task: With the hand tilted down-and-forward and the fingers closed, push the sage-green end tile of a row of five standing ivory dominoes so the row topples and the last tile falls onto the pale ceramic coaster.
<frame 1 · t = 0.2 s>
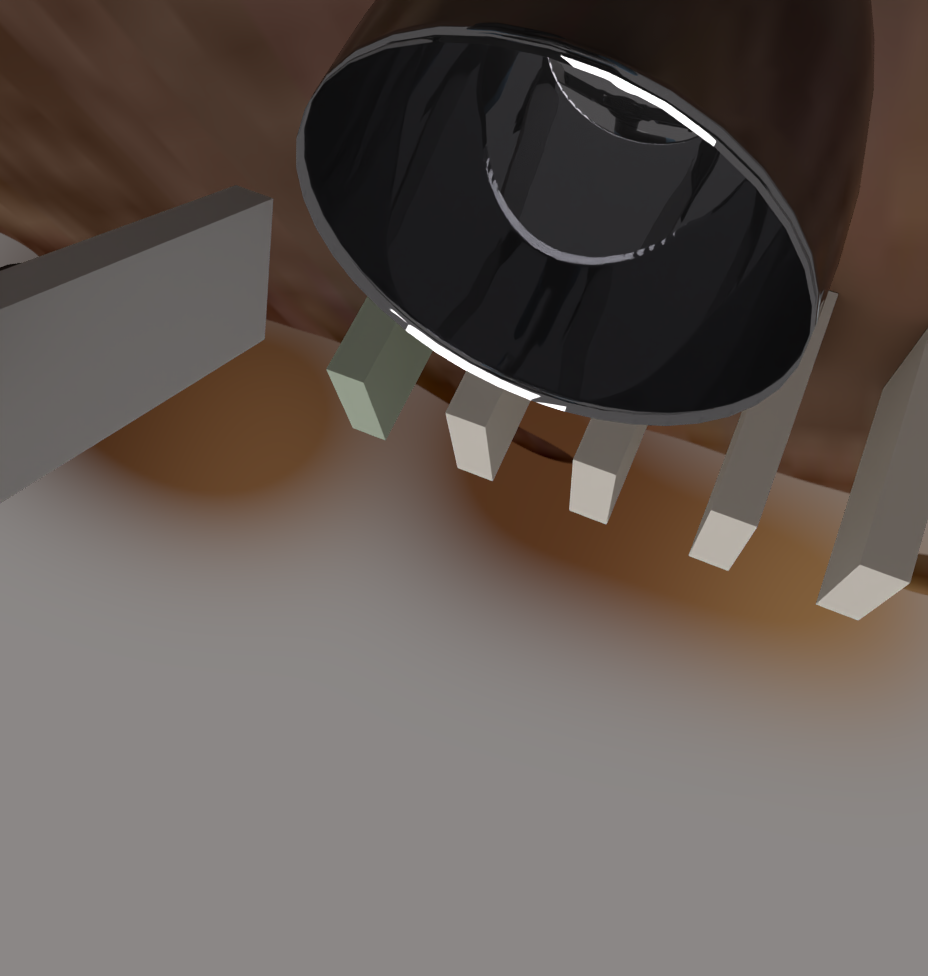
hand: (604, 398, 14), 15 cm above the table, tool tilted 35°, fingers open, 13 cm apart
domino 5: (927, 364, 34), on the table
domino 1: (459, 219, 38), on the table
domino 2: (565, 252, 37), on the table
domino 3: (678, 287, 36), on the table
domino 4: (798, 324, 35), on the table
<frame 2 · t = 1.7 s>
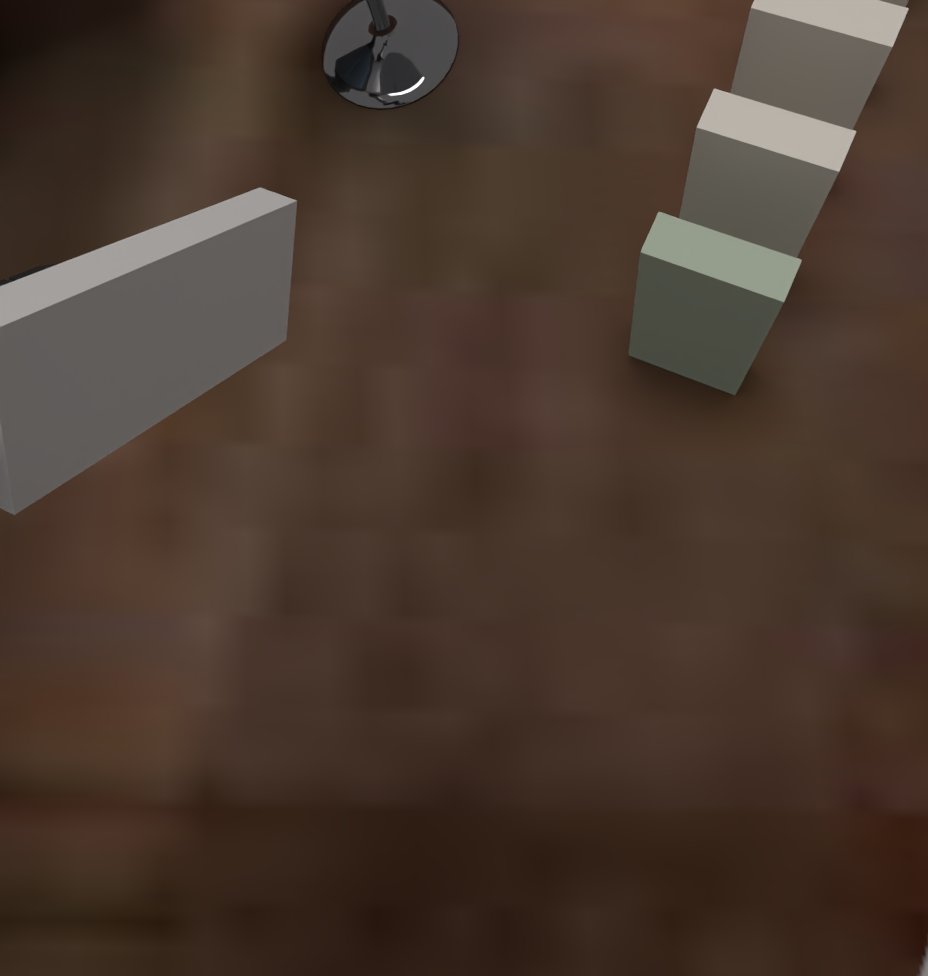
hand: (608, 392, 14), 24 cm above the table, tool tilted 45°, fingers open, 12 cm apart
wine glass: (390, 49, 45), on the table
domino 1: (687, 359, 39), on the table
domino 2: (730, 262, 39), on the table
domino 3: (771, 168, 40), on the table
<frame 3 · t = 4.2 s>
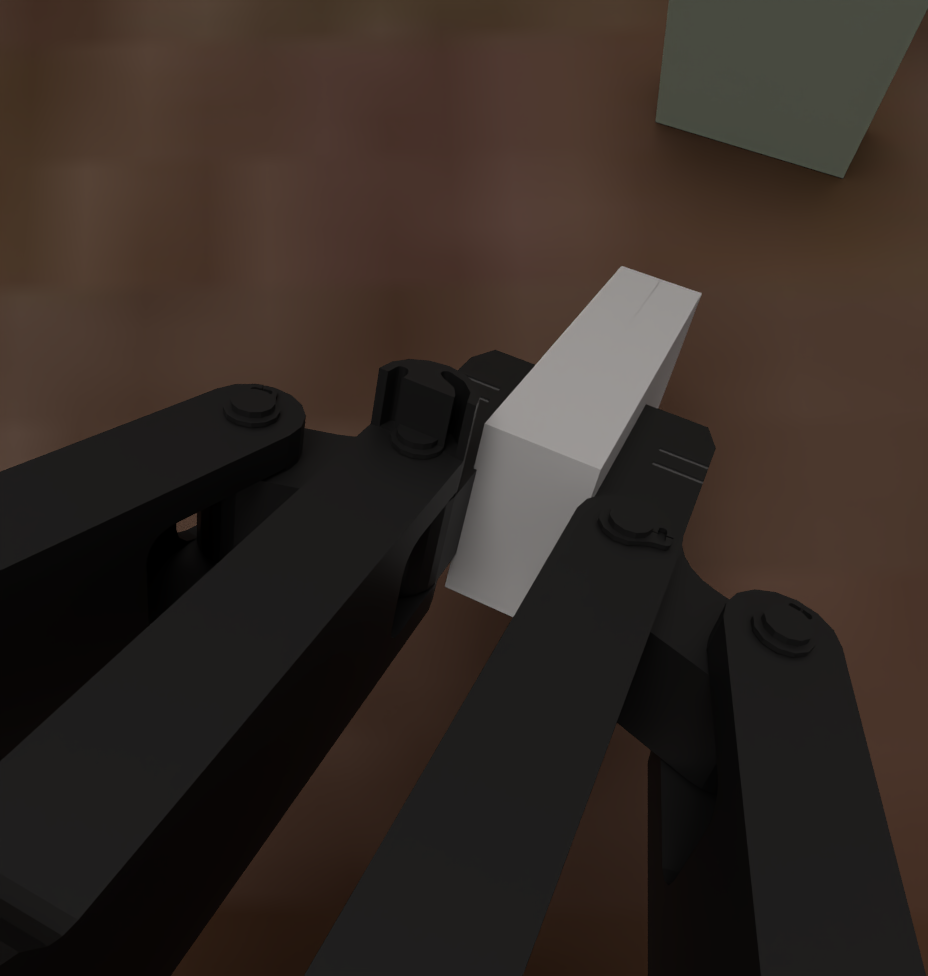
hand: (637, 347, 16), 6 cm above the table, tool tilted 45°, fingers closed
domino 1: (758, 123, 23), on the table
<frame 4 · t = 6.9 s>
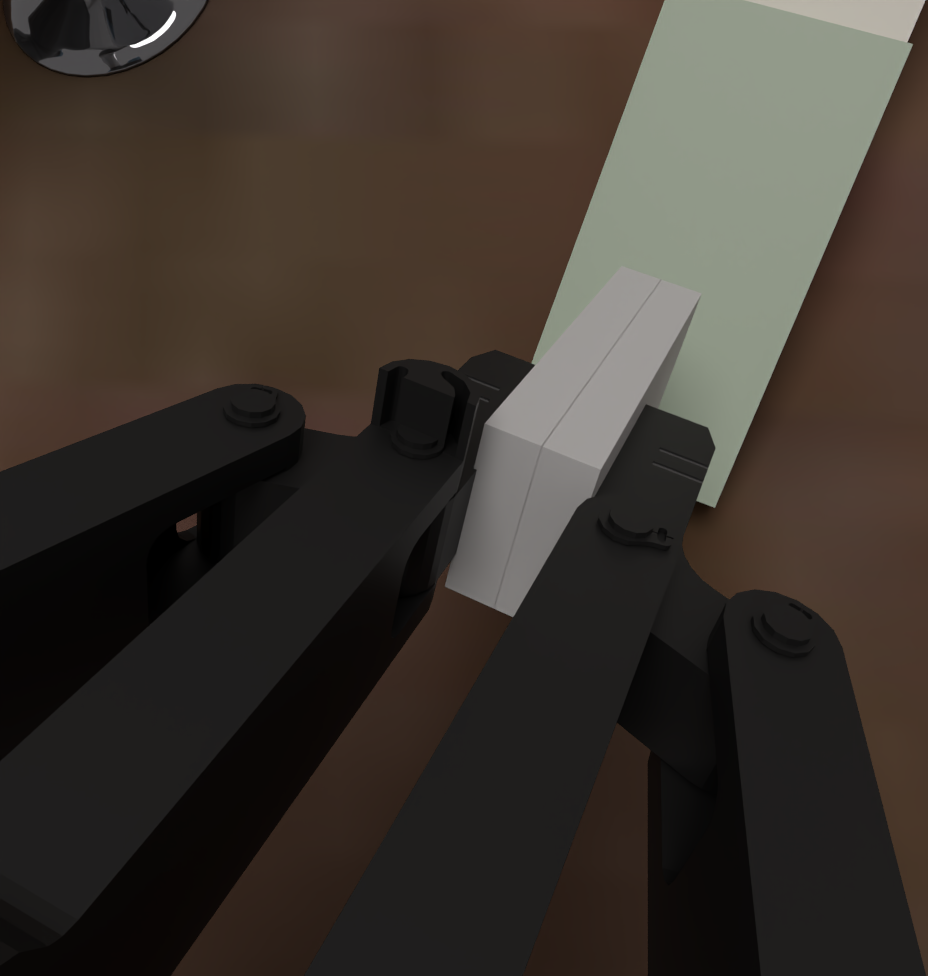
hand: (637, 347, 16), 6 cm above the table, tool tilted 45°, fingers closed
domino 1: (612, 463, 21), point 1 cm above the table, tilted 70°, touching domino 2
domino 2: (689, 278, 21), point 1 cm above the table, tilted 69°, touching domino 1, domino 3
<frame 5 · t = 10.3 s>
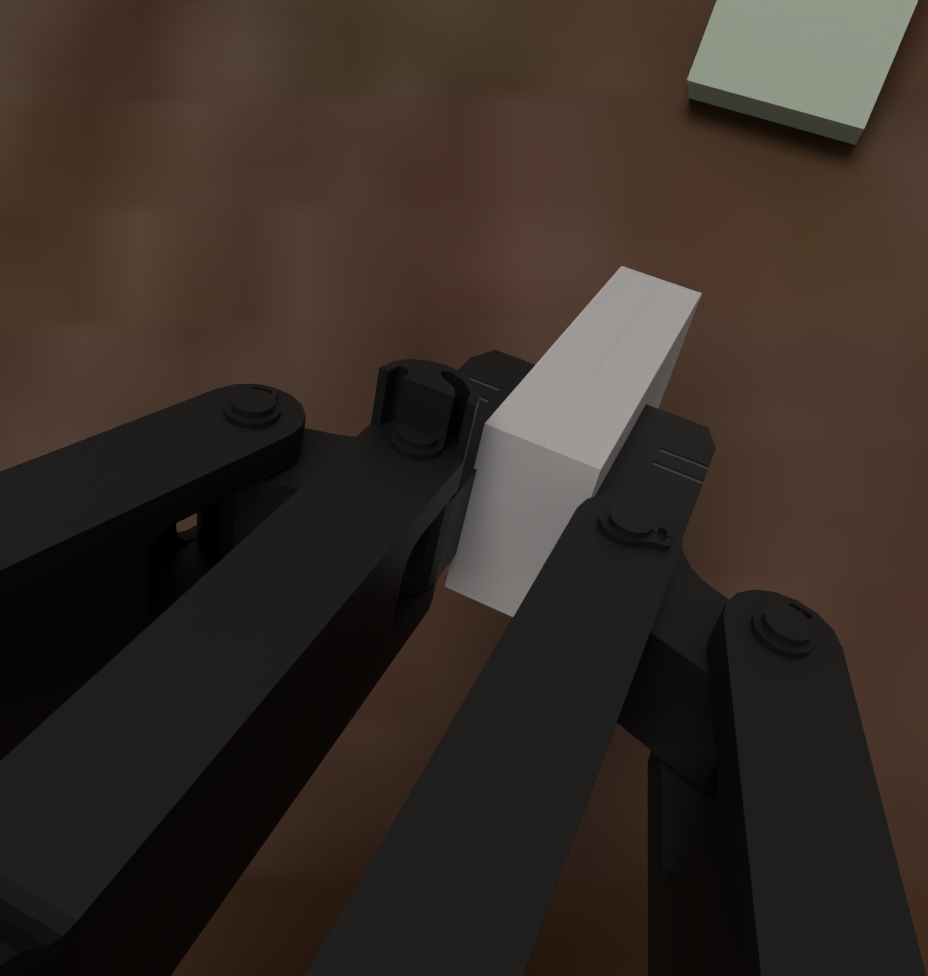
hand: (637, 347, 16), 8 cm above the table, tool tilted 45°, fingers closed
domino 1: (771, 112, 25), point 1 cm above the table, tilted 69°, touching domino 2
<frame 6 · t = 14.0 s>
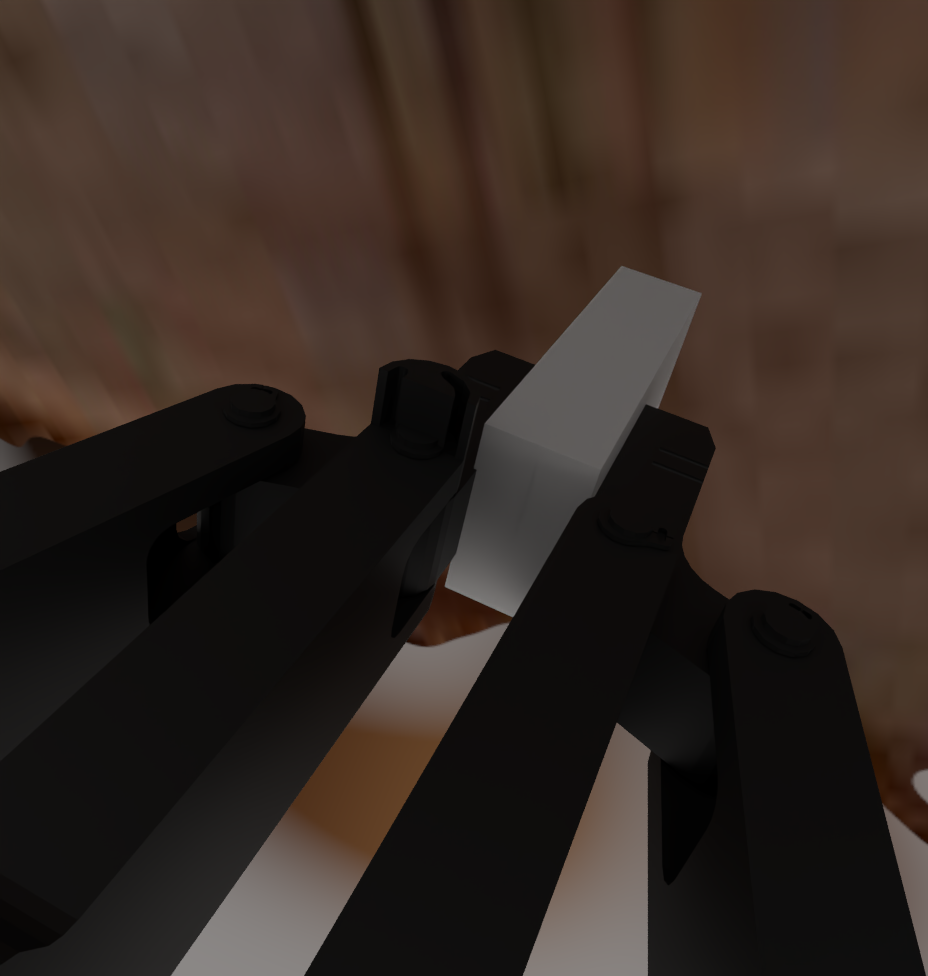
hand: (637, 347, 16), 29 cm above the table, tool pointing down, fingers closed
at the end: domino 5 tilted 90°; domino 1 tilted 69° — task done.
